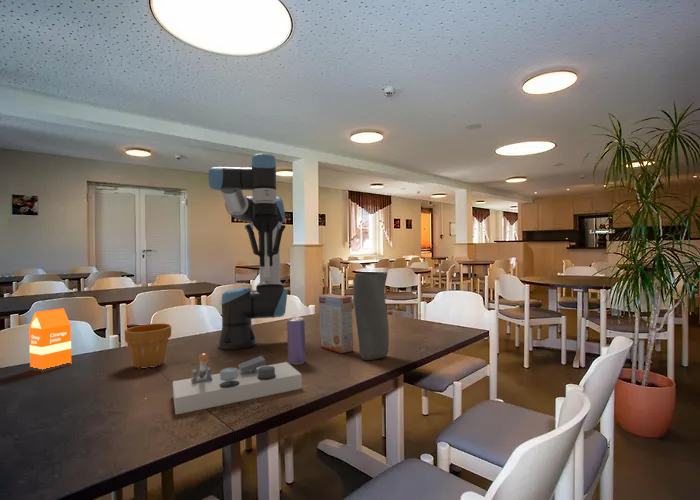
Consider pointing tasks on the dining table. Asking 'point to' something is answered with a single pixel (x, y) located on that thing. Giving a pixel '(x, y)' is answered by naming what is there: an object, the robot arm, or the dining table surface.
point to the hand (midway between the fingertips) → (266, 276)
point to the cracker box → (336, 322)
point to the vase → (371, 314)
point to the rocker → (252, 364)
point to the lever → (203, 364)
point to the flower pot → (148, 343)
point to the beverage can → (296, 341)
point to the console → (232, 388)
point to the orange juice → (50, 339)
